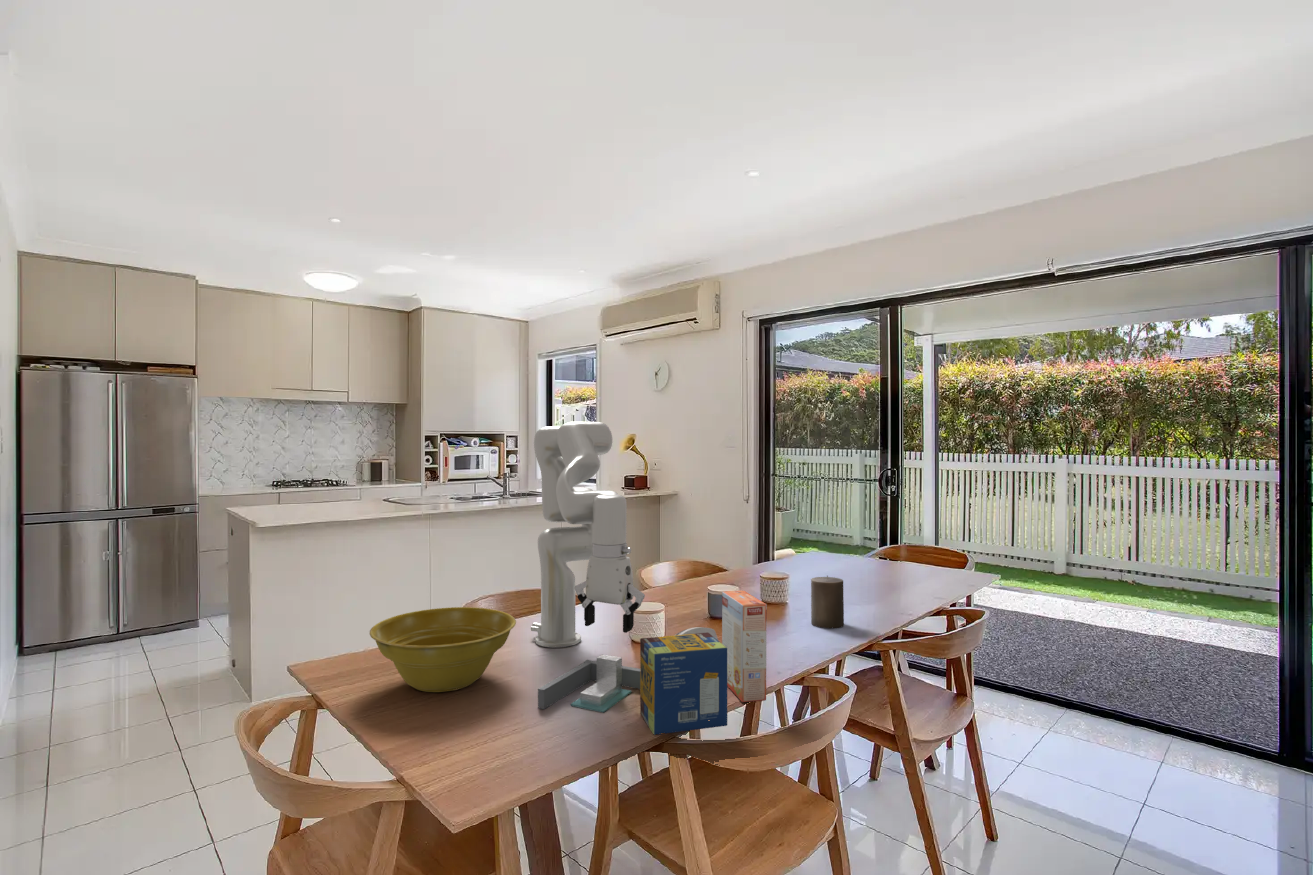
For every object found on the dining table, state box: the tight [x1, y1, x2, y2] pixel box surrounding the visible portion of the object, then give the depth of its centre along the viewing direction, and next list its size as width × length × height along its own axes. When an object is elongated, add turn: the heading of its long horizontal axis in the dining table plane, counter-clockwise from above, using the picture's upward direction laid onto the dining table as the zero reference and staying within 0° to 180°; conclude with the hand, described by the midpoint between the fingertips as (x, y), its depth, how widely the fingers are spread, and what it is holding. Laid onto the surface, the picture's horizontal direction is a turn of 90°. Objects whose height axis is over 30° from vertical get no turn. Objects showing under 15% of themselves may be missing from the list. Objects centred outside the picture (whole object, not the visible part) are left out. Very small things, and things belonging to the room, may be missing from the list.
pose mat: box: [570, 688, 632, 713], centre depth 140 cm, size 8×12×1 cm, turn 154°
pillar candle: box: [810, 575, 845, 630], centre depth 198 cm, size 10×10×15 cm
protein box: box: [639, 632, 728, 736], centre depth 130 cm, size 10×15×16 cm
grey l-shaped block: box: [579, 654, 623, 707], centre depth 140 cm, size 9×5×8 cm, turn 154°
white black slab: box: [673, 626, 719, 641], centre depth 162 cm, size 17×5×10 cm, turn 134°
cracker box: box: [721, 590, 768, 703], centre depth 145 cm, size 14×6×21 cm, turn 12°
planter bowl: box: [369, 606, 517, 693], centre depth 151 cm, size 32×32×13 cm
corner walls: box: [537, 659, 640, 710], centre depth 141 cm, size 18×20×4 cm
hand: (608, 627), depth 144 cm, fingers open, 9 cm apart
